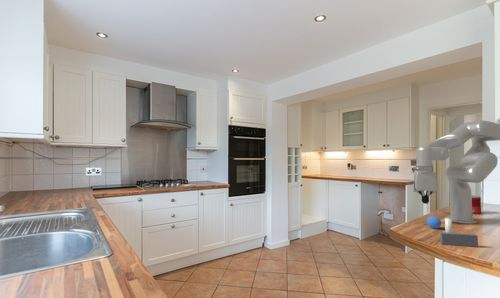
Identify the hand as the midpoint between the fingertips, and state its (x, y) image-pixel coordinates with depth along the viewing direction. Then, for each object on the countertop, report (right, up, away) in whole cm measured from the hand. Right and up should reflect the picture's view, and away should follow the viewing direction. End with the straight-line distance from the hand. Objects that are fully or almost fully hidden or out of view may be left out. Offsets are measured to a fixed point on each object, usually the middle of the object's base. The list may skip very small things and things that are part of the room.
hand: (425, 203), depth 137 cm
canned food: (+46, -12, +23) cm, 53 cm away
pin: (-7, -10, -26) cm, 28 cm away
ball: (-2, -8, -9) cm, 12 cm away
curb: (-10, -10, -34) cm, 37 cm away
